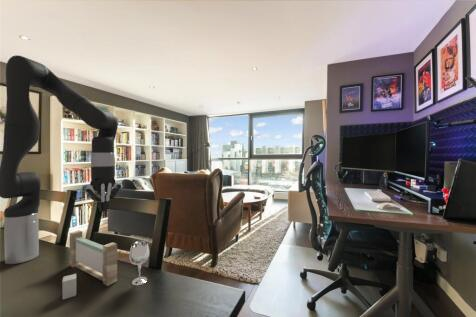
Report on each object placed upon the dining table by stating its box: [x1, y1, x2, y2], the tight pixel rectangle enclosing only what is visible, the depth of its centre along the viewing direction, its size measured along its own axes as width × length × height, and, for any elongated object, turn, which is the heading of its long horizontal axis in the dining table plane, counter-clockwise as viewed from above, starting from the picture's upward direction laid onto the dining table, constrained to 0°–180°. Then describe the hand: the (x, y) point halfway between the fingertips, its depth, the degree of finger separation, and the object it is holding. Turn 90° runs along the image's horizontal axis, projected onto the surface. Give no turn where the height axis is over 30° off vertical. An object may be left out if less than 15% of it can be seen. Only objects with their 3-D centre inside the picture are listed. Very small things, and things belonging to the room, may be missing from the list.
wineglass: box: [129, 240, 150, 286], centre depth 68 cm, size 6×6×12 cm
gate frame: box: [69, 230, 118, 287], centre depth 72 cm, size 24×3×12 cm, turn 61°
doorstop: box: [61, 273, 77, 300], centre depth 61 cm, size 3×3×5 cm
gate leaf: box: [76, 236, 104, 275], centre depth 72 cm, size 18×2×8 cm, turn 61°
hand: (103, 211), depth 79 cm, fingers closed
